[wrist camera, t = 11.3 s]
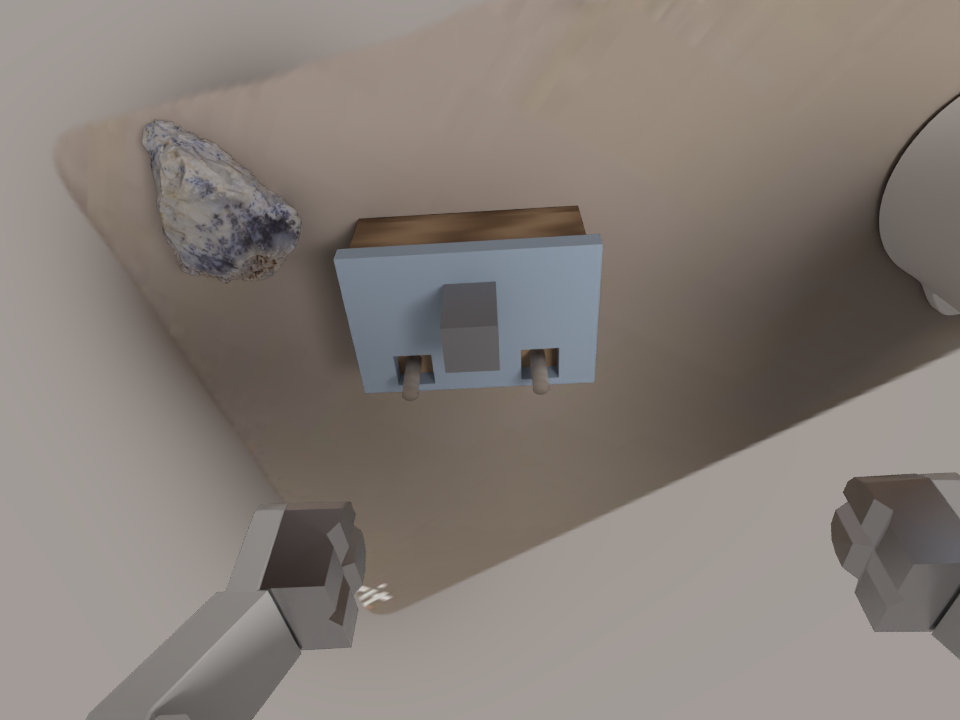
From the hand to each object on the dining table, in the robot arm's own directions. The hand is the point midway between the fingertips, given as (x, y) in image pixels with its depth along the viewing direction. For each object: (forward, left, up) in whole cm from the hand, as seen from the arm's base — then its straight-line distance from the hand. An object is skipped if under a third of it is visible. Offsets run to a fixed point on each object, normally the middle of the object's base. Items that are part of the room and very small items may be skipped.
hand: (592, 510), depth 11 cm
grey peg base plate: (+3, +13, -26) cm, 29 cm away
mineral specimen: (+18, +7, -31) cm, 36 cm away
